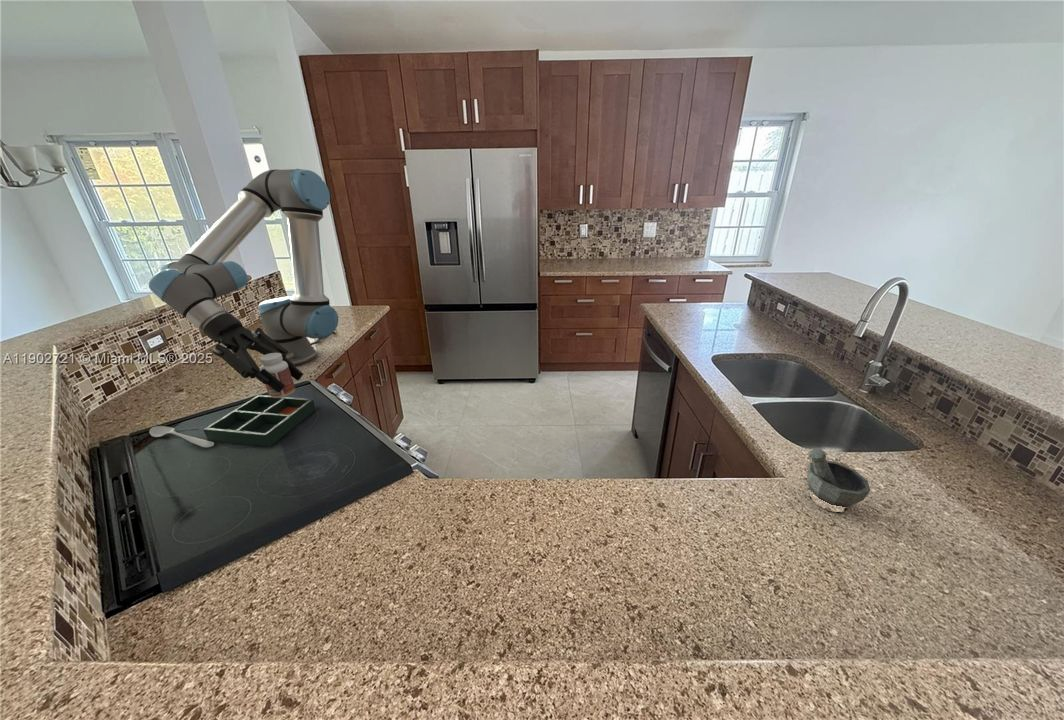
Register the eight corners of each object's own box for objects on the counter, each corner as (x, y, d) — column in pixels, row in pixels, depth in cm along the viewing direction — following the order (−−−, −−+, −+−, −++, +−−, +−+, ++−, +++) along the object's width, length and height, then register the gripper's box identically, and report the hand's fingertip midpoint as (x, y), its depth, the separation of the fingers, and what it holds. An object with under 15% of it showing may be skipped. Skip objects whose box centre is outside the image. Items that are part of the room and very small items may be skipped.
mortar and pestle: (843, 489, 79) (864, 444, 74) (867, 524, 71) (892, 476, 66) (784, 480, 82) (801, 436, 77) (801, 512, 74) (821, 465, 69)
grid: (262, 404, 109) (258, 394, 108) (316, 409, 107) (313, 399, 106) (207, 440, 94) (202, 429, 92) (269, 446, 92) (265, 435, 90)
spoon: (163, 427, 99) (161, 422, 98) (221, 441, 94) (219, 436, 93) (145, 436, 95) (142, 431, 94) (204, 451, 90) (201, 445, 89)
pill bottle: (293, 385, 105) (283, 349, 100) (297, 394, 100) (286, 356, 96) (267, 392, 101) (255, 355, 96) (270, 401, 97) (257, 362, 92)
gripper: (241, 319, 104) (309, 375, 109) (173, 345, 87) (256, 409, 91) (252, 302, 101) (321, 360, 106) (184, 324, 84) (269, 392, 89)
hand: (291, 383), depth 99 cm, fingers closed on pill bottle, 6 cm apart
